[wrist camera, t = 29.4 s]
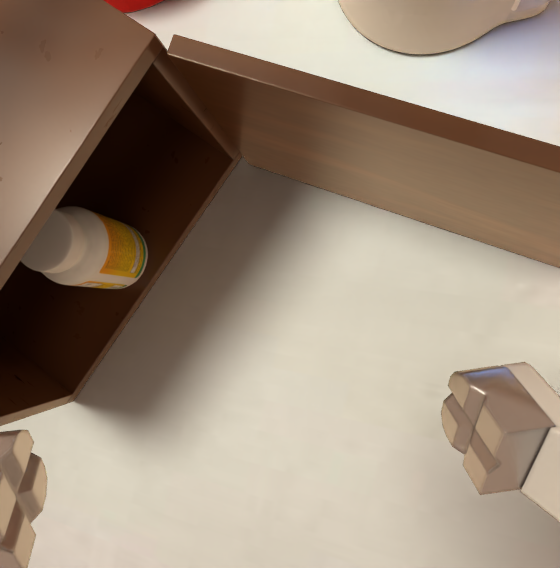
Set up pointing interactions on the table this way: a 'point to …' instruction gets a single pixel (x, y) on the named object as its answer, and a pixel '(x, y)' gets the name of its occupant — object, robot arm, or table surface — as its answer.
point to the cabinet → (89, 179)
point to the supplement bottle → (87, 250)
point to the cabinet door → (382, 149)
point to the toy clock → (132, 4)
